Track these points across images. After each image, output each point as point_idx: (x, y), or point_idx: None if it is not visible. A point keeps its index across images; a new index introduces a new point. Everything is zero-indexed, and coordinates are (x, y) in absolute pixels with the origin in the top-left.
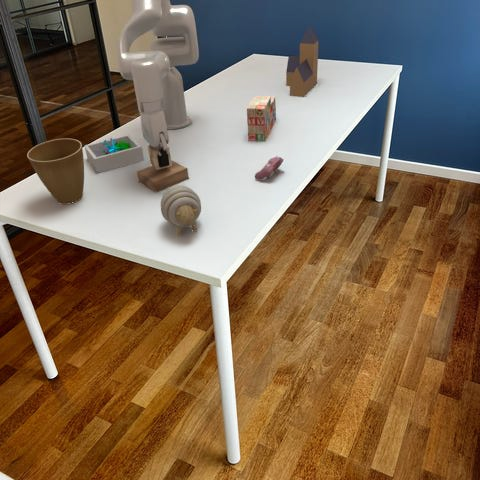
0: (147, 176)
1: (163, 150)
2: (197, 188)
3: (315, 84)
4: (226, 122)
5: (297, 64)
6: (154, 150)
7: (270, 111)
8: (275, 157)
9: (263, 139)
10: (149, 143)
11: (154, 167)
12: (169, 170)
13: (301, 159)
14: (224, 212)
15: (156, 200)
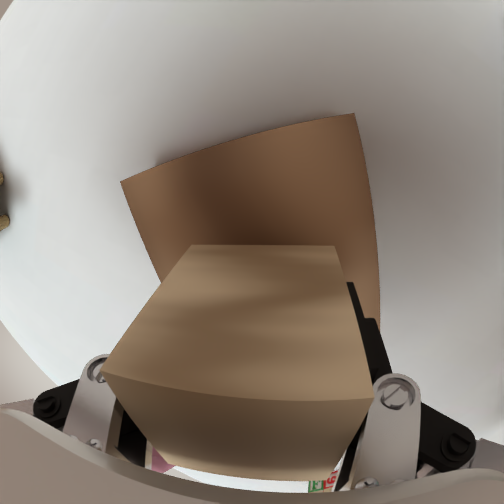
0: (222, 157)
1: (23, 406)
2: (131, 321)
3: None
4: None
5: None
6: (129, 392)
7: None
8: (153, 470)
9: (312, 481)
10: (105, 480)
11: (236, 246)
12: None
13: (196, 471)
14: (21, 301)
15: (95, 149)
